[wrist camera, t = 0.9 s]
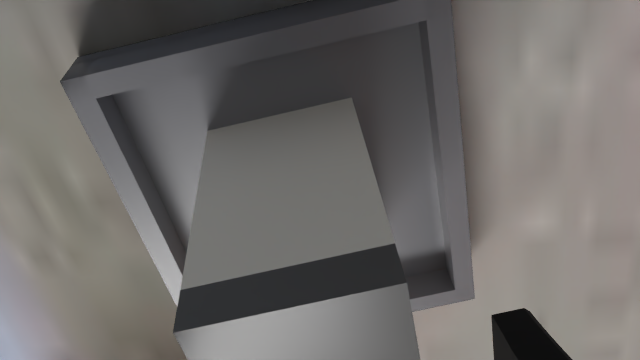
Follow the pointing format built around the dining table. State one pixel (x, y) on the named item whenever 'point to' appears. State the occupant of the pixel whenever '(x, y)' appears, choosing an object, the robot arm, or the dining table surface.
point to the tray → (285, 96)
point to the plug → (292, 247)
